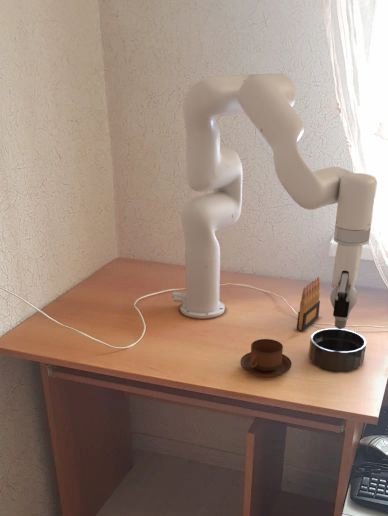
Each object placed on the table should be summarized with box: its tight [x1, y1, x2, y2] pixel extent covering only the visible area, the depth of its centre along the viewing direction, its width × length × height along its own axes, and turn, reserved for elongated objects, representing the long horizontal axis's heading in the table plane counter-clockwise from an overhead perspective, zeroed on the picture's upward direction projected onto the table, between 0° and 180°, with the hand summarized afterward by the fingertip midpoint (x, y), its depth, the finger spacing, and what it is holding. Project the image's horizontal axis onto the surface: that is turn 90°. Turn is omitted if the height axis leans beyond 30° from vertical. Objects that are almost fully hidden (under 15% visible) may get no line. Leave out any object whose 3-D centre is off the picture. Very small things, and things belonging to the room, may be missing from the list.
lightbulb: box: [329, 285, 358, 329], centre depth 145 cm, size 6×6×11 cm
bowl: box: [308, 327, 367, 373], centre depth 151 cm, size 13×13×6 cm
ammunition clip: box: [296, 276, 321, 332], centre depth 167 cm, size 11×2×12 cm, turn 148°
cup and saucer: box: [240, 338, 292, 378], centre depth 147 cm, size 12×12×6 cm
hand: (342, 310), depth 145 cm, fingers closed on lightbulb, 6 cm apart
